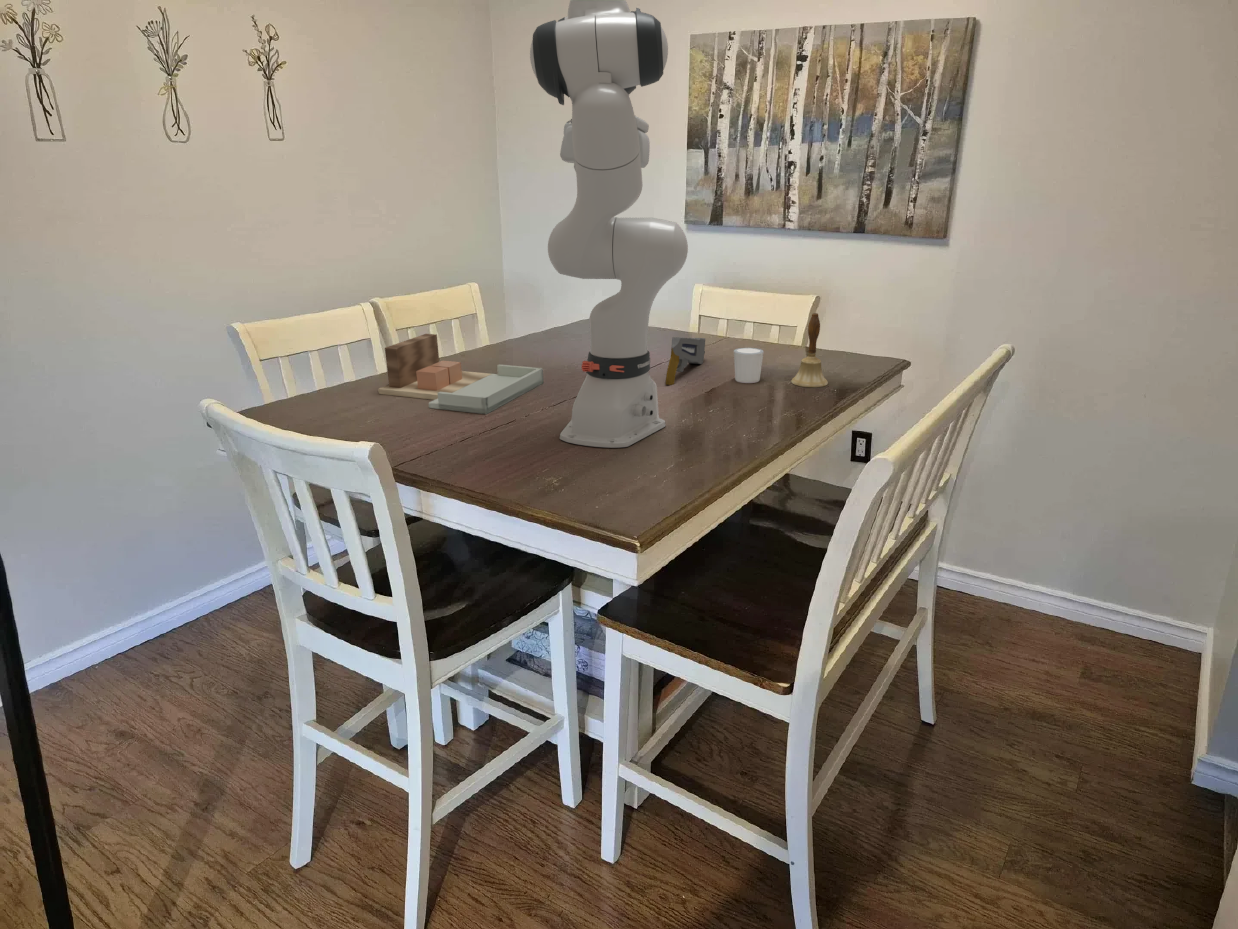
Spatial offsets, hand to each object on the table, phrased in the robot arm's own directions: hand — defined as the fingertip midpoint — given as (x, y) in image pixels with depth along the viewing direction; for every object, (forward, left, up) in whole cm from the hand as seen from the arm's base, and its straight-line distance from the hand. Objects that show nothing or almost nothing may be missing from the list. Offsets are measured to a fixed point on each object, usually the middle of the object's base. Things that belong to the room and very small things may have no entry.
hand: (600, 186), depth 183 cm
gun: (+10, -17, -44) cm, 48 cm away
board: (-21, +33, -43) cm, 58 cm away
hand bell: (+10, -47, -43) cm, 65 cm away
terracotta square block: (-20, +31, -42) cm, 56 cm away
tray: (-23, +18, -43) cm, 52 cm away
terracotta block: (-25, +31, -42) cm, 58 cm away
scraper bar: (-21, +39, -42) cm, 61 cm away
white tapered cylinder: (+8, -33, -43) cm, 55 cm away
